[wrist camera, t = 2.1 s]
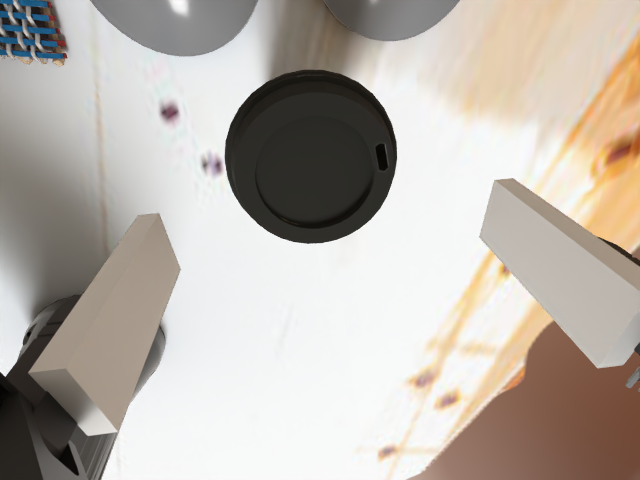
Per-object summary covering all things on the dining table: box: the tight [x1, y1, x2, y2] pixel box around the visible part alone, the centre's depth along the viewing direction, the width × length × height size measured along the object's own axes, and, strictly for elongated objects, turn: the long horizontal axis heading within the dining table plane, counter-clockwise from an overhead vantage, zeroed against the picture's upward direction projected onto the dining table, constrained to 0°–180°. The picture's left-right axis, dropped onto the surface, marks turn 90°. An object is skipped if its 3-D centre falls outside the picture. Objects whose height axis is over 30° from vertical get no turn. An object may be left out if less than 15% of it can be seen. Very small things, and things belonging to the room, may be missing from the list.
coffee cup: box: [225, 70, 397, 244], centre depth 24 cm, size 10×10×15 cm
